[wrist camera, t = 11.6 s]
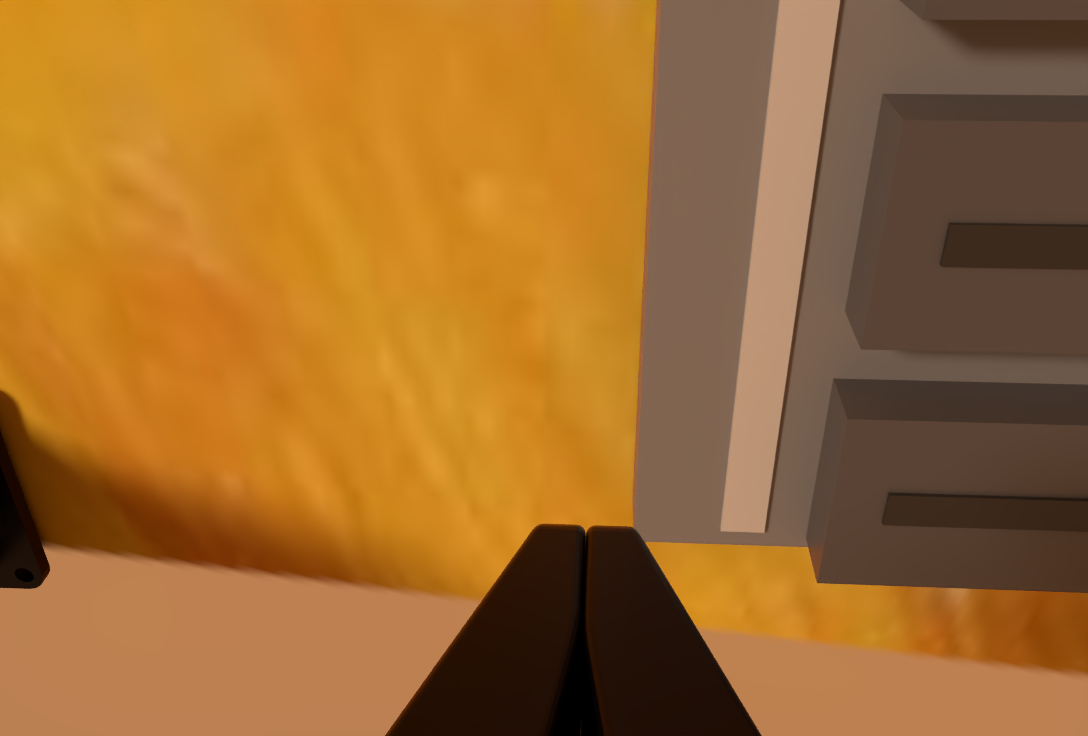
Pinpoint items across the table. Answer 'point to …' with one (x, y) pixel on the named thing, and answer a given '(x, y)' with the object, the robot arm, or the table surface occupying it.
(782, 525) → the panel
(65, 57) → the table surface
